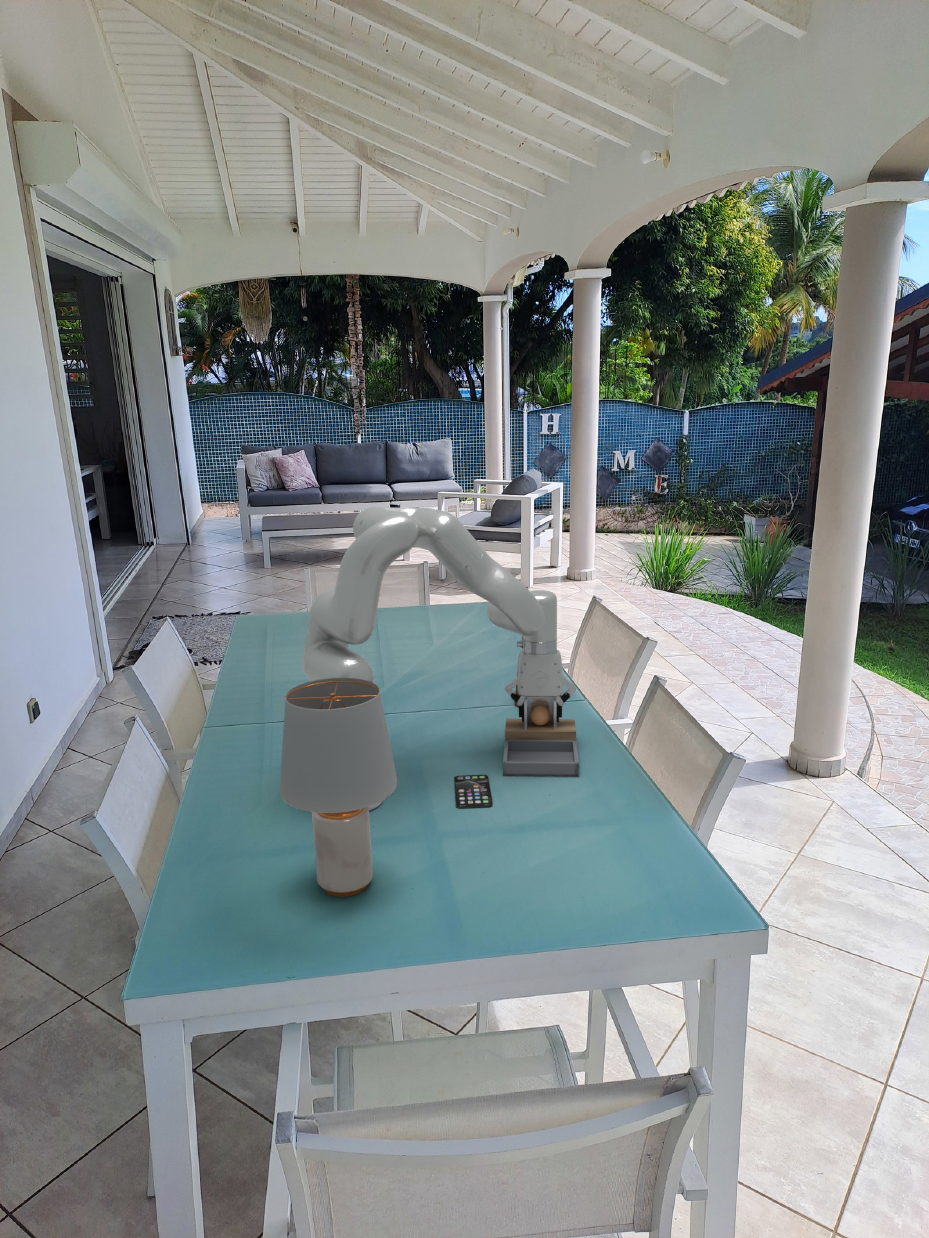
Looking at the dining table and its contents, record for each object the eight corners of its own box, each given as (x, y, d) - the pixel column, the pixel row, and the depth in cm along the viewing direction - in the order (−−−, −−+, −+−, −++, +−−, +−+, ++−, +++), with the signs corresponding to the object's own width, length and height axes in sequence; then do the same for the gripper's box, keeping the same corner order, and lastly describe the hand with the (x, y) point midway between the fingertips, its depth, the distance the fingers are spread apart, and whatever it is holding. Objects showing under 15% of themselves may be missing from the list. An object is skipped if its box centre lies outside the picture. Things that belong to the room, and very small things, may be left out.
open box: (556, 730, 195) (556, 700, 194) (524, 729, 196) (524, 700, 194) (555, 719, 202) (555, 690, 200) (524, 719, 202) (524, 690, 201)
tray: (578, 776, 183) (578, 763, 182) (503, 775, 185) (503, 762, 184) (576, 752, 195) (576, 740, 195) (505, 751, 197) (505, 739, 196)
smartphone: (488, 774, 185) (493, 805, 171) (488, 776, 185) (493, 808, 171) (453, 775, 185) (455, 807, 170) (453, 778, 185) (456, 810, 171)
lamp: (403, 851, 155) (395, 671, 146) (399, 913, 137) (389, 712, 128) (297, 856, 155) (282, 675, 146) (279, 918, 136) (261, 716, 128)
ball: (550, 728, 196) (550, 710, 195) (530, 728, 197) (530, 710, 196) (549, 721, 201) (549, 703, 200) (530, 721, 201) (530, 703, 200)
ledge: (576, 752, 195) (576, 731, 194) (505, 751, 197) (504, 731, 195) (574, 738, 203) (574, 718, 202) (506, 738, 204) (506, 718, 203)
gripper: (500, 650, 191) (501, 726, 195) (580, 650, 189) (579, 726, 194) (501, 641, 198) (503, 714, 203) (578, 641, 197) (577, 714, 201)
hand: (540, 719), depth 198 cm, fingers closed on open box, 7 cm apart
